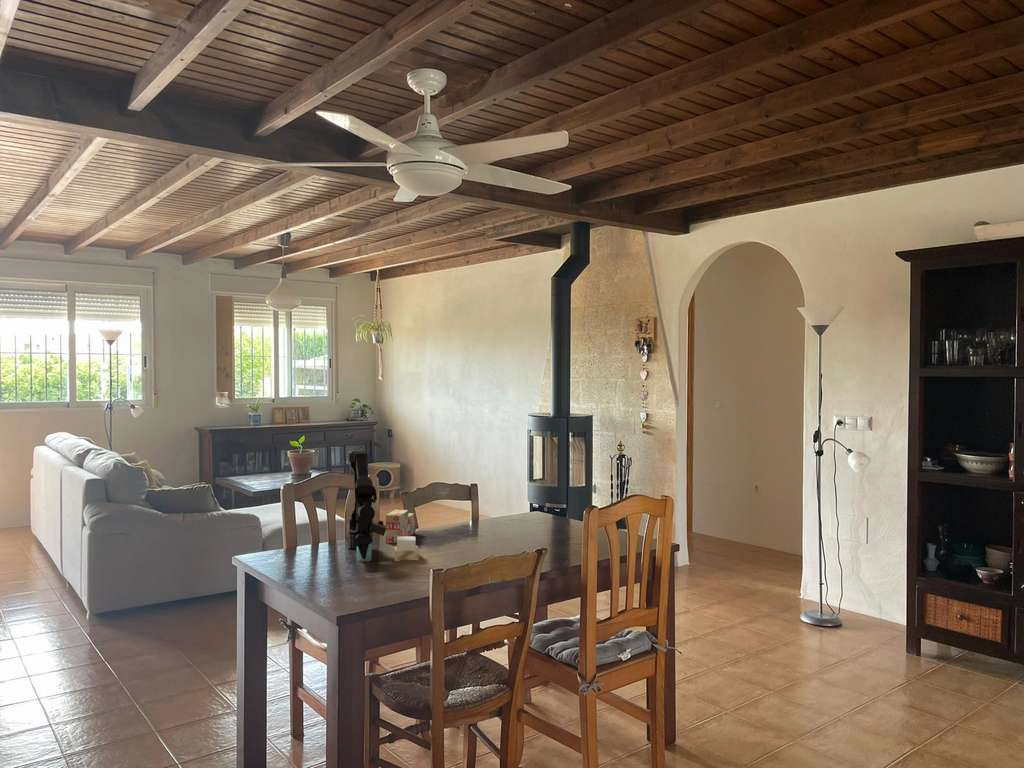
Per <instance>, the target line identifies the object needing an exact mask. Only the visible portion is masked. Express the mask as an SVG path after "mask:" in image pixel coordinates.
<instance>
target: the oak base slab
mask: <svg viewBox="0 0 1024 768" xmlns="http://www.w3.org/2000/svg"><path fill="white" fill-rule="evenodd" d="M393 547H394V549H393V550H394V556H395V557H394V561H395V562H401V561H400V560H417V561H420V550H419V547H418V545H415V551H397V546H393Z"/></svg>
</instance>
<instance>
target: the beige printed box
mask: <svg viewBox="0 0 1024 768" xmlns="http://www.w3.org/2000/svg"><path fill="white" fill-rule="evenodd" d="M385 525H386V526H387V529H386V532H385V544H390V543H397V537H405V536H411V535H412V534H413V535H414V534H415V527H416V526H415V513H413V512H409V510H408V509H393V510H392V511H391V512H389V513H387V514H386V515H385ZM413 535H412V536H413Z"/></svg>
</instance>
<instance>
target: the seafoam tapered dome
mask: <svg viewBox="0 0 1024 768" xmlns="http://www.w3.org/2000/svg"><path fill="white" fill-rule="evenodd" d="M356 561H357V562H360V563H362V562H363V563H364V562H369V561H370V562H371V561H372V546H371V545H369V546H368V549H367V554H366V559H362V556H361V554H360V551H359V549H358V546H357V550H356Z"/></svg>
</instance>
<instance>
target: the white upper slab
mask: <svg viewBox="0 0 1024 768" xmlns="http://www.w3.org/2000/svg"><path fill="white" fill-rule="evenodd" d="M415 546H416V536H414V535H412V536H405V537H397V544H396V547H397V551H415Z"/></svg>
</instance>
